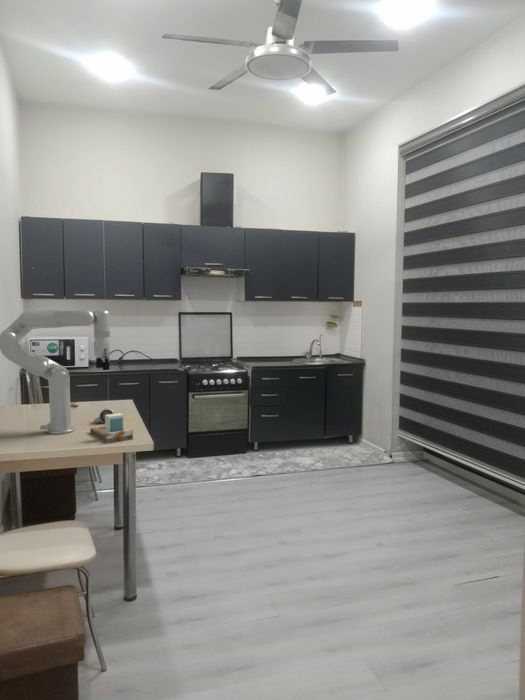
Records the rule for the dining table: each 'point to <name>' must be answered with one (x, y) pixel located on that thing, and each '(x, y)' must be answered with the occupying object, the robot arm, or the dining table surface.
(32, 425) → the dining table surface
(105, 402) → the dining table surface
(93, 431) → the shelf board
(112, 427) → the carton
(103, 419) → the ceramic mug
